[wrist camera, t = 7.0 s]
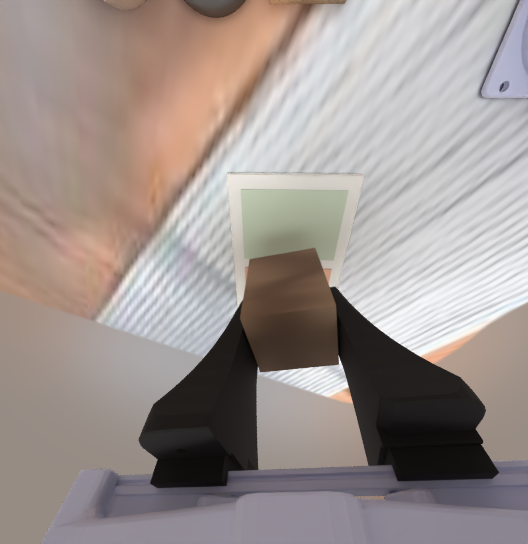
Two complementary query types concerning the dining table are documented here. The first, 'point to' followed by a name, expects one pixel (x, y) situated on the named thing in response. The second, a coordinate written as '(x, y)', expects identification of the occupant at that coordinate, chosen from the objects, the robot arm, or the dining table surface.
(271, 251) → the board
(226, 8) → the rubber puck
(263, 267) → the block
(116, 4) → the ceramic cylinder
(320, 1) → the oak cube
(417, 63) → the dining table surface
